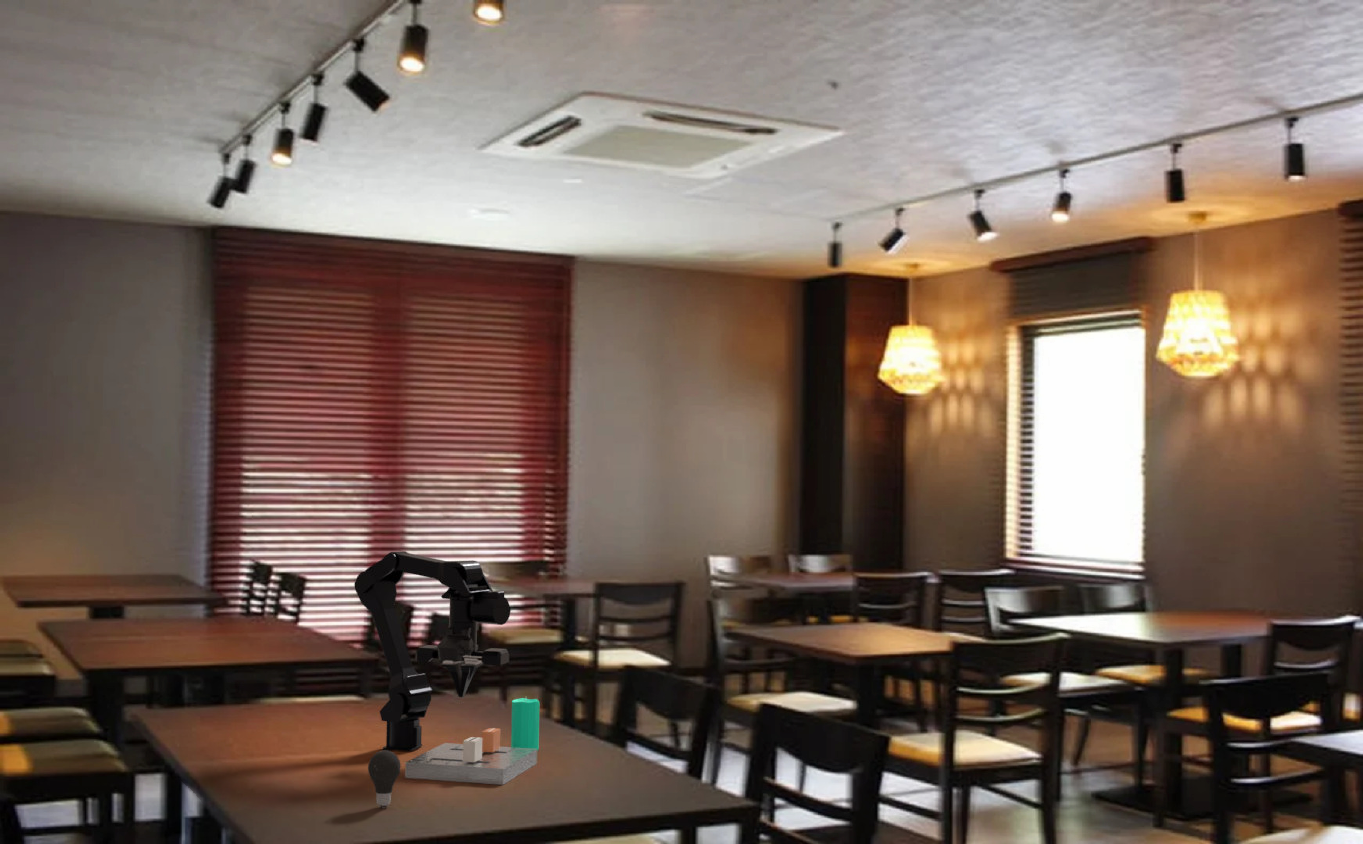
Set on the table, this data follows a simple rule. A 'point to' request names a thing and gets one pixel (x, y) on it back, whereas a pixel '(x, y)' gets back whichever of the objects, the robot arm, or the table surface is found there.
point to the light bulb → (384, 775)
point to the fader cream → (472, 749)
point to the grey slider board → (471, 765)
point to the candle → (525, 723)
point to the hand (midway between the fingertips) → (461, 697)
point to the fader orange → (490, 740)
